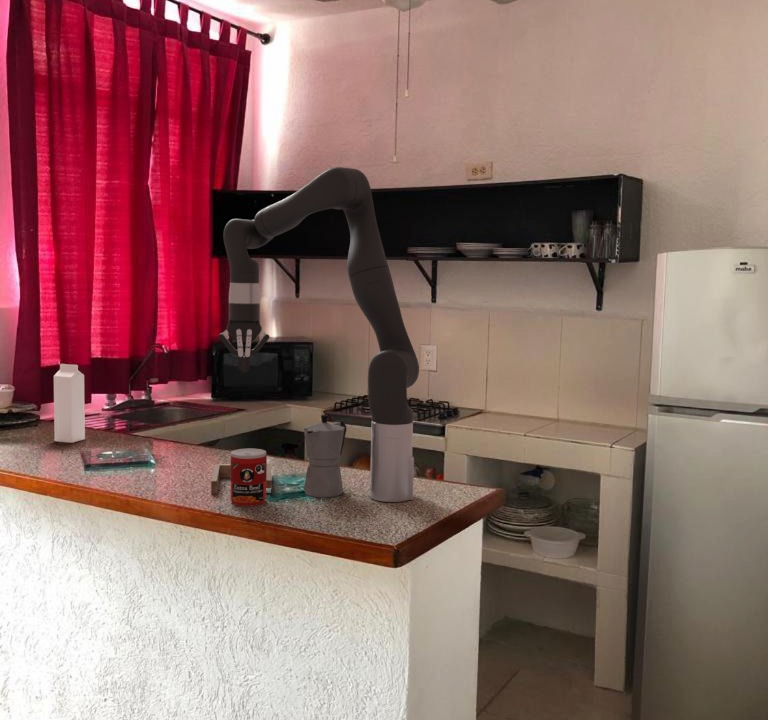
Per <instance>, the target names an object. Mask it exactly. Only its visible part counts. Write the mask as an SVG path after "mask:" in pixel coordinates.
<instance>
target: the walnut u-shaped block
mask: <svg viewBox="0 0 768 720" xmlns="http://www.w3.org/2000/svg"><path fill="white" fill-rule="evenodd" d="M220 478H231V463H215V464H214V467H213V471H212V476H211V481H210V488H211V489H210V491H211V492H210V494H211V495H217V494H218V489H219V482H220ZM266 488H272V489H273V477H272V465H271V463H267V475H266Z"/></svg>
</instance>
